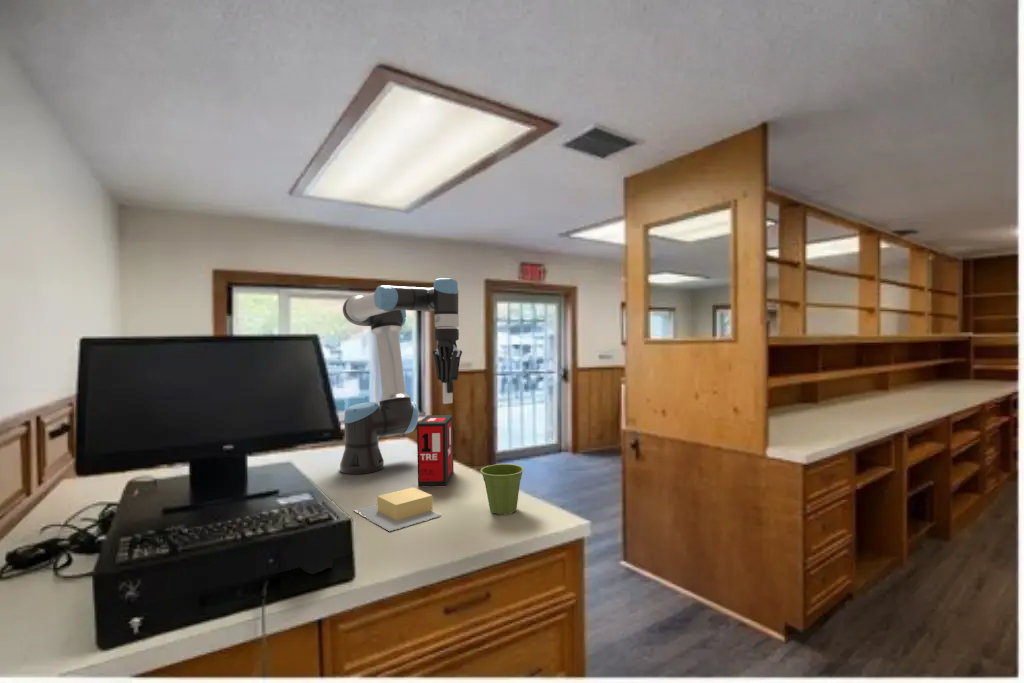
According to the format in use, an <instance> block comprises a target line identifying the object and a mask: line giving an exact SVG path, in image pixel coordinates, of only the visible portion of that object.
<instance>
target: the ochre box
mask: <svg viewBox="0 0 1024 683" xmlns="http://www.w3.org/2000/svg"><path fill="white" fill-rule="evenodd" d="M377 504H378V511H379V512H381V513H383V514H385V515H387V516H389V517H390V518H392V519H394V520H396V521H397V520H400V519H403V518H407V517H410V516H414V515H417V514H421V513H424V512H428V511H433V505H434V504H433V495H432V494H430V493H428V492H425V491H423V490H420V489H418V488H415V487H414V486H412V487H409V488H405V489H401V490H398V491H393V492H387V493H384V494H380V495H377Z"/></svg>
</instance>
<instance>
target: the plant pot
mask: <svg viewBox="0 0 1024 683" xmlns="http://www.w3.org/2000/svg"><path fill="white" fill-rule="evenodd" d="M524 470H525V468H524V467H523V466H521V465H518V464H513V463H497V464H492V465H487V466H483V467H481V468H480V473H481V474H482V478H483V482H484V484H485V485H484V486H485V490H486V495H487V501H488V506H489V511H490V513H491V514H497V515H501V516H504V515H511V514H512V513H514V512H516V511H517V509H518V501H519V493H520V487H521V486H520V484H521V480H522V475H523V472H524Z"/></svg>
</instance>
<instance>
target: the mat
mask: <svg viewBox="0 0 1024 683" xmlns="http://www.w3.org/2000/svg"><path fill="white" fill-rule="evenodd" d="M356 510H358V513H359V512H361V514H362V515H363V516H366V518H367V519H369V520H370V521H369V520H368V521H369V522H371V521H372V522H371V523H373V524H374V523H375V524H374V525H376V524H377V525H376V526H378V525H379V526H381V527H382V528H381V527H380V528H381V529H383V528H384V529H383V530H385V529H386V530H388V531H389V532H388V531H387V532H388V533H391V532H390V531H392V532H394V531H393V530H395V531H398V530H397V529H399V528H402V529H404V528H403V527H405V528H407V527H406V526H408V527H411V526H410V525H412V526H414V525H413V524H415V525H417V524H416V523H418V524H420V523H419V522H422V521H425V520H428V519H431V520H433V519H432V518H435V519H437V518H436V517H438V518H440V517H439V516H441V517H442V515H441V514H438V513H437V512H434V511H433V510H431V511H428V512H424V513H421V514H417V515H414V516H410V517H407V518H403V519H400V520H397V521H396V520H394V519H392V518H390V517H389V516H387V515H385V514H383V513H381V512H379V511H378V503H376V504H373V505H369V506H365V507H361V508H357V509H356ZM366 518H365V519H366ZM367 519H366V520H367ZM428 521H429V520H428ZM425 522H426V521H425ZM422 523H423V522H422ZM379 526H378V527H379ZM386 530H385V531H386ZM399 530H400V529H399Z"/></svg>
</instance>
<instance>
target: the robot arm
mask: <svg viewBox="0 0 1024 683" xmlns="http://www.w3.org/2000/svg"><path fill="white" fill-rule="evenodd" d="M458 284H459V283H458V281H457V279H455V278H449V277H448V278H444V277H443V278H436V279H434V281H433V287H418V286H417V287H416V286H398V285H388V284H387V285H378V286H377V287H376V289H375V290H374V292H371V293H368V294H365V295H353V296H351V297H349V298H347V299H345V301H344V303H343V305H342V314H343V315H344V316H343V317H344V318H345V319H346V321H348V322H350V323H351V324H353V325H356V326H361V327H370V330H371V333H372V334H374V336H375V338H376V346H377V356H378V363H379V364H378V365H379V375H380V383H381V391H382V397H381V399H379V401H378V402H379V404H378V402H376V401H368V402H361V403H356V404H353V405H350V406H348V407H347V408H346V409H345V411H344V420H343V423H344V450H343V454H342V457H341V460H340V463H339V464H340V465H339V471H340V472H341V473H343V474H348V475H349V474H350V475H362V474H370V473H375V472H378V471H381V470H382V469H384V468H385V465H384V463H385V460H384V458H383V455H382V452H381V450H380V446H379V438H385V437H392V436H399V435H400V436H402V435H405V434H410V433H412V432H413V431H414V430H415V429H417V423H418V422H419V409H418V406H417V403H416V402H413V401H412V400H411V396H410V395H408V394H407V392H406V385H405V378H404V377H405V376H404V367H403V360H402V350H401V343H400V342H401V341H400V335H399V334H400V332H401V331H402V330H403V327H402V326H404V325H405V324H406V320H407V319H406V318H407V311H414V312H415V311H419V312H420V311H421V312H433V311H434V327H435V329H434V340H435V342H436V341H437V345H436V346H437V347H436V349H432V354H433V358H434V364H435V369H436V377H437V380H438V381H440V382H441V388H442V390H441V391H442V404H444V405H445V404H446V405H447V404H453V401H454V400H453V392H454V383H455V381H458V378H459V370H460V362H461V357H462V354H463V351H462V350H461V349H458V345H457V341H459V336H460V332H459V329H458V327H460V323H459V321H460V319H459V316H460V315H459V292H460V291H459V286H458Z"/></svg>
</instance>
